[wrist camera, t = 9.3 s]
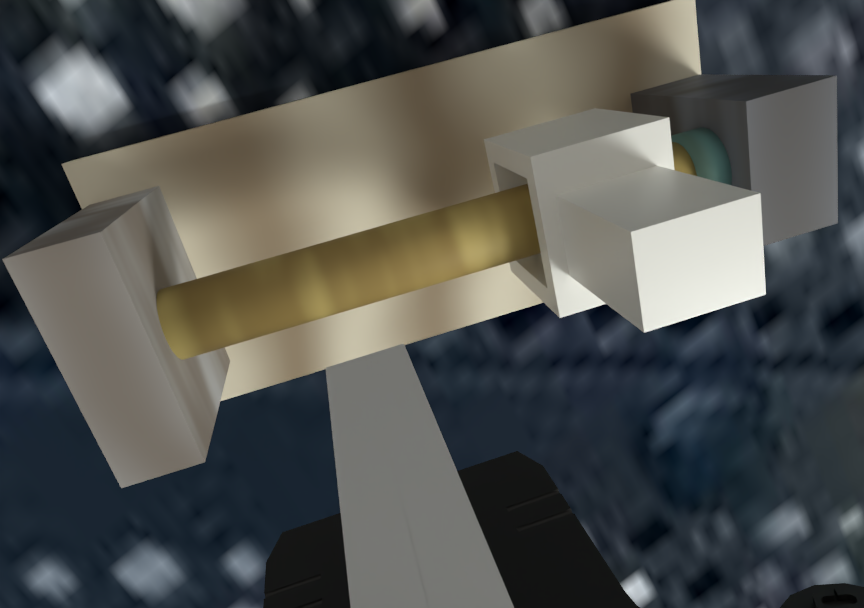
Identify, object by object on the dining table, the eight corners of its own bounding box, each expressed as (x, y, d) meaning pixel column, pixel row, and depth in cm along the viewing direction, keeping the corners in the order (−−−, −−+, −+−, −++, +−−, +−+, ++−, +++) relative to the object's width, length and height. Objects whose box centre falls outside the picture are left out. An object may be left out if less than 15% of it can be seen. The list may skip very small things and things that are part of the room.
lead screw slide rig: (179, 405, 26) (132, 532, 19) (69, 161, 22) (-42, 203, 15) (704, 245, 28) (843, 304, 21) (682, -3, 24) (842, -35, 17)
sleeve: (511, 271, 23) (630, 385, 15) (483, 139, 22) (600, 183, 13) (614, 240, 24) (787, 334, 15) (595, 108, 22) (779, 131, 14)
